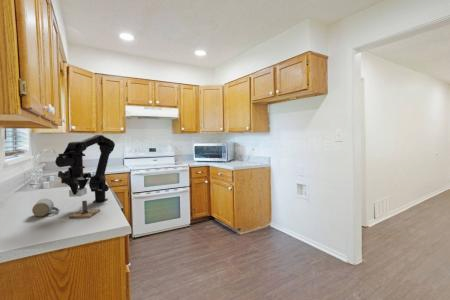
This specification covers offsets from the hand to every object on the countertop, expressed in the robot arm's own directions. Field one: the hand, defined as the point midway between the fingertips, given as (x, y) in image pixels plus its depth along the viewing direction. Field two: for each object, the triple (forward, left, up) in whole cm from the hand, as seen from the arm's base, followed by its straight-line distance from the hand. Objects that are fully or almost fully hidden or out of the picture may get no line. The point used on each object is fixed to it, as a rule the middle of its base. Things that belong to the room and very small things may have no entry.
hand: (78, 193), depth 128 cm
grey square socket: (0, 0, -1) cm, 1 cm away
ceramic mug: (+7, -12, -9) cm, 17 cm away
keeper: (+11, +9, -9) cm, 17 cm away
